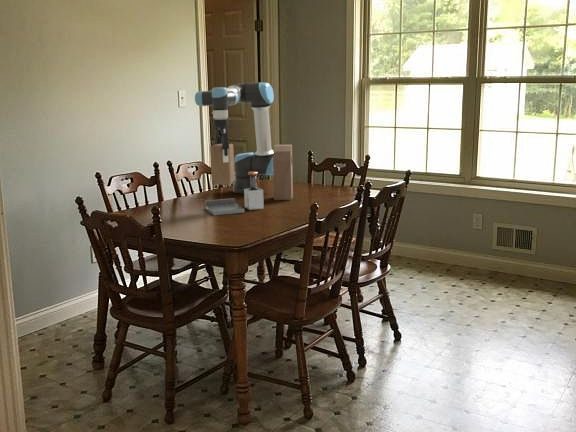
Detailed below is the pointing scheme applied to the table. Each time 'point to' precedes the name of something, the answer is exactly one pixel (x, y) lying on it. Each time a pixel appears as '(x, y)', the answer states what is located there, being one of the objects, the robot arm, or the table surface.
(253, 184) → the press pin
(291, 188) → the decorative block
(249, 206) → the pin housing
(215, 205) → the press bed
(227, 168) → the wooden block
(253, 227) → the table surface
